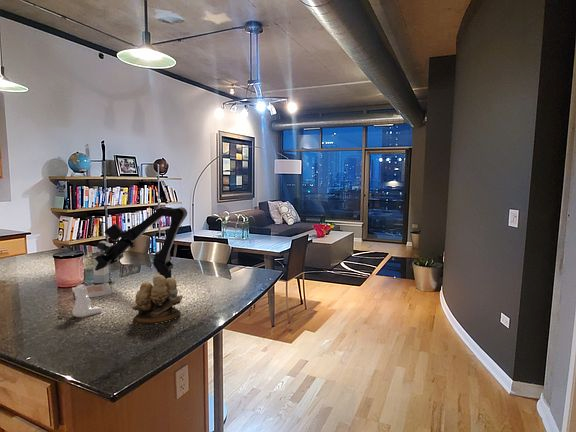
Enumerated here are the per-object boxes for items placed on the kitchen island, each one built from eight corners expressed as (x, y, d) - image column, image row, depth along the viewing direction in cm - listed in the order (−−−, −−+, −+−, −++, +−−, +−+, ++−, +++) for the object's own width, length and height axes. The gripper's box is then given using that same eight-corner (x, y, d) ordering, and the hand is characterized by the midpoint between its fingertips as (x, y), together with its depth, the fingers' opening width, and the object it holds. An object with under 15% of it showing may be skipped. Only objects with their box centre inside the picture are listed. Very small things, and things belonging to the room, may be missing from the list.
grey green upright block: (109, 280, 180) (108, 257, 178) (104, 283, 175) (103, 259, 173) (99, 280, 179) (98, 256, 178) (94, 282, 174) (93, 259, 173)
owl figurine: (179, 309, 143) (179, 268, 141) (186, 319, 133) (186, 275, 131) (130, 316, 134) (130, 272, 132) (135, 328, 124) (134, 281, 122)
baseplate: (108, 285, 170) (108, 282, 170) (111, 294, 159) (111, 290, 158) (75, 289, 163) (74, 285, 163) (75, 299, 151) (74, 294, 151)
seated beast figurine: (103, 312, 138) (102, 282, 137) (85, 320, 130) (84, 288, 128) (83, 309, 140) (82, 279, 139) (64, 317, 132) (63, 285, 131)
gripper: (116, 232, 184) (96, 253, 185) (98, 239, 165) (75, 261, 166) (132, 248, 185) (111, 268, 186) (115, 255, 166) (93, 278, 167)
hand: (98, 268), depth 176 cm, fingers closed on grey green upright block, 5 cm apart
